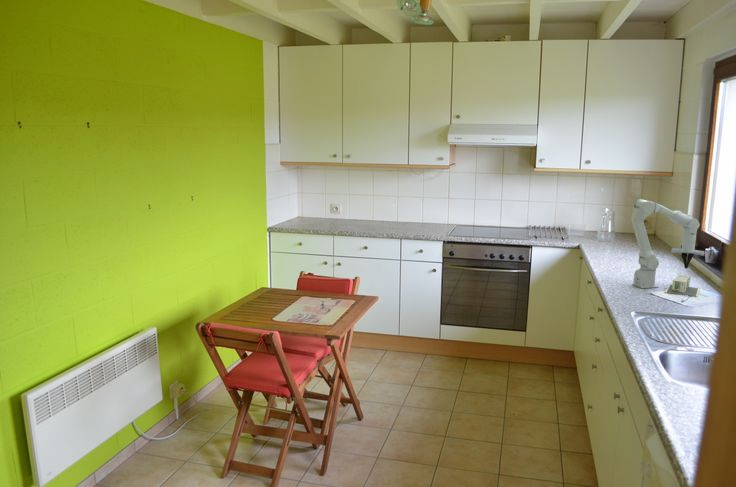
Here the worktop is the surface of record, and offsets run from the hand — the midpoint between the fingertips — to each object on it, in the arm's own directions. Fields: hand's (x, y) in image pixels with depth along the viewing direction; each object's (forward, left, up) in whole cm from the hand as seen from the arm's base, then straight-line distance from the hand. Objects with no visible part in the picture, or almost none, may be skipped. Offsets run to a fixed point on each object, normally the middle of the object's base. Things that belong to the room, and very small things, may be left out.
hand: (686, 268), depth 296 cm
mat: (-8, -8, -9) cm, 14 cm away
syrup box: (-1, 0, -6) cm, 6 cm away
